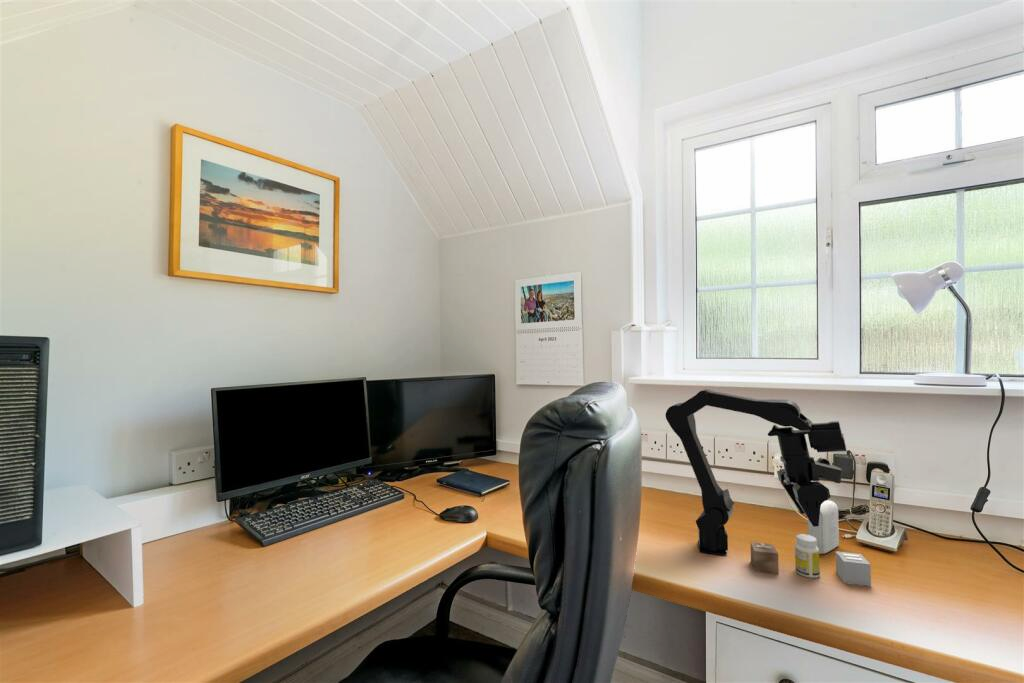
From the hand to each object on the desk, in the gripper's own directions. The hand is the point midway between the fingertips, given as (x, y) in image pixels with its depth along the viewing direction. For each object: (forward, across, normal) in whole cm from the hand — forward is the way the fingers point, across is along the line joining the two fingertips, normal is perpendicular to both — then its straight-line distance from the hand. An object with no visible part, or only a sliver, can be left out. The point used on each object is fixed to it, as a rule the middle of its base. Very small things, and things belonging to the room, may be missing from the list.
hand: (809, 519), depth 105 cm
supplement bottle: (+12, 0, +3) cm, 13 cm away
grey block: (+14, 0, -6) cm, 15 cm away
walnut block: (+11, 0, +12) cm, 16 cm away
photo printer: (+13, +16, -5) cm, 21 cm away
